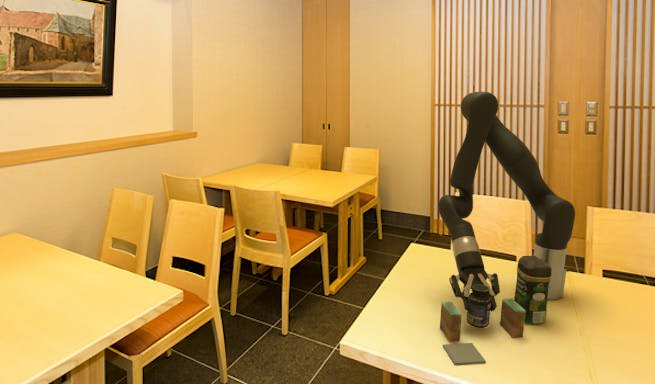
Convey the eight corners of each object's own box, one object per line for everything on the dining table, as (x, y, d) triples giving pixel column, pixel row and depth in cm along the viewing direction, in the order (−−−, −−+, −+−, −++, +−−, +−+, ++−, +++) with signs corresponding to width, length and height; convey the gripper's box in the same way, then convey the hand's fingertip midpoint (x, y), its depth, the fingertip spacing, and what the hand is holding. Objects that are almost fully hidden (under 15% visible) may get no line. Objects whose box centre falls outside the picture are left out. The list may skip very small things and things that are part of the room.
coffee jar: (508, 309, 133) (514, 253, 129) (533, 309, 133) (540, 253, 129) (522, 326, 124) (529, 265, 120) (549, 326, 124) (557, 265, 120)
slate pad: (471, 344, 115) (471, 342, 115) (485, 363, 107) (485, 361, 107) (442, 346, 114) (442, 344, 114) (454, 365, 106) (454, 363, 106)
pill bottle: (490, 330, 118) (494, 293, 116) (467, 327, 120) (470, 291, 117) (487, 318, 124) (490, 283, 122) (465, 316, 125) (468, 281, 123)
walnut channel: (509, 323, 125) (512, 298, 123) (522, 337, 118) (525, 310, 116) (439, 327, 123) (441, 302, 121) (449, 341, 116) (451, 314, 114)
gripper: (447, 250, 124) (461, 308, 115) (495, 248, 125) (512, 305, 117) (440, 260, 130) (452, 316, 122) (485, 258, 132) (501, 313, 123)
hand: (481, 310), depth 119 cm, fingers closed on pill bottle, 6 cm apart
